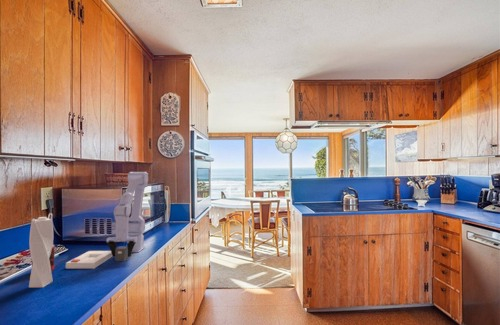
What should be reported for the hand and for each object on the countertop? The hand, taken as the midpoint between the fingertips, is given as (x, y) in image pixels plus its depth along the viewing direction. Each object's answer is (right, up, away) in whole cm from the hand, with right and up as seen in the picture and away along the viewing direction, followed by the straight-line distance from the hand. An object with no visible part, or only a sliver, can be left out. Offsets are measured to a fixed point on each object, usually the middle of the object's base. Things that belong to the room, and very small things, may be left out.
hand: (121, 256), depth 135 cm
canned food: (-28, -2, -15) cm, 32 cm away
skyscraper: (-18, -1, -29) cm, 34 cm away
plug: (0, -2, 0) cm, 2 cm away
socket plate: (-14, -2, -3) cm, 14 cm away
